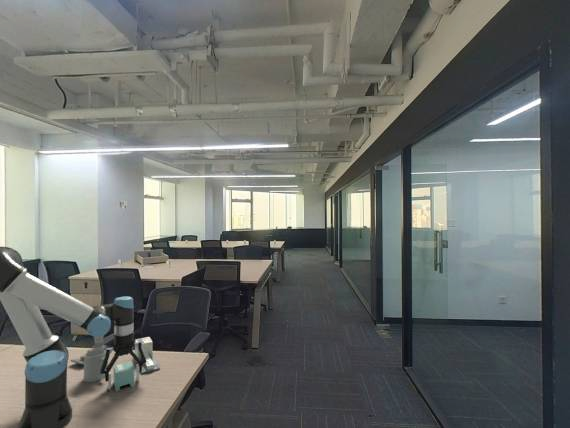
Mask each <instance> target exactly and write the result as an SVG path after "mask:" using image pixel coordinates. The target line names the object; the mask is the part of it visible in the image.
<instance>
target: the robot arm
mask: <svg viewBox="0 0 570 428" xmlns="http://www.w3.org/2000/svg"><path fill="white" fill-rule="evenodd" d="M0 302H1V305H2V307H3V308H4V310H5V311H6V314H7V316H8V317H9V320H10V321H11V323H12V325H13V327H14V329H15V331H16V333H17V335H18V337H19V338H20V340H21V343H22V344H23V346H24V348H25V349H24V350H23V353H22V356H23V358H24V360H25V362H26V363H25V364H26V365H25V368H24V376H25V379H24V380H25V381H24V383H25V385H24V386H25V387H24V388H25V389H24V390H25V392H24V395H25V396H24V398H25V399H24V403H25V406H24V407H25V408H24V409H23V413H22V415H21V417H20V420H19V424H18V428H64V427H65V426H66V425H67V424H68V423H70V421H71V420H72V418H73V407H72V404H71V402H70V400H69V398H68V394H67V389H68V387H67V385H68V383H67V382H68V379H67V378H68V375H67V374H68V363H69V362H68V361H69V356H70V352H69V349H68V347H67V346H66V345H65V344H64V343H62V340H61V338H60V337H59V335H55V334H53V333H52V332H51V329H50V327H49V325H48V323H47V321H46V320H45V318H44V315H43V314H42V312H41V310H40V308H41V309H43V310H45V311H46V312H49V313H50V314H53V315H54V316H57V317H59V318H61V319H64V321H65V320H66V321H67V322H70V323H71V324H73V325H76V326H77V327H80V328H81V329H83V330H85V331H87V333H88V334H89V335H90V336H91V337H93V338H94V337H101V336H103V335H104V336H105V335H106V334H108V333H109V331H110V329H111V325H112V323H113V322H114V324H113V325H114V328H113V332H114V333H113V334H114V335H113V339H114V340H113V346H112V347H107V348H106V355H105V358H104V361H103V364H102V367H101V370H100V372H101V374H105V377H104V378H105V379H104V380H105V382H107V389H108V390H111V389H112V386H111V385H112V384H111V382H112V380H111V379H112V378H111V377H112V373H111V370H112V369H113V368H114V365H115V363H116V361H117V359H119V358H120V357H122V356H124V355H125V356H127V355H129V354H130V356H131V357H132V358H133V359H134V361H135V362H137V363H138V364H137V363H136V370H135V371H136V381H137V382H140V374H141V372H142V364H144V363H146V359H145V356H144V353H143V351H142V348H141V345H142V344H141V342H140V341H138V342H136V343H135V337H134V336H135V335H134V334H135V333H134V324H135V323H134V317H135V315H134V313H135V312H134V311H135V307H134V299H133V297H131V296H127V295H126V296H125V295H124V296H120V297H116V298H114V301H113V303H109V304H100V305H94V306H92V305H88V304H86V303H85V302H83V301H81V300H80V299H77V298H76V297H73V296H72V295H70V294H68V293H66V292H64V291H62V290H60V289H59V288H57V287H55V286H53V285H51V284H49V283H47V282H45V281H44V280H42V279H40V278H38V277H37V276H34V275H32V274H31V273H28V268H26V267H24V263H23V257H22V255H21V254H20V253H19V252H18V251H17V250H16V249H14V248H11V247H8V246H0ZM135 346H136V347H137V348H138V350H139V352H140V355H141V358H142V360H141V361H140V360H139V358H138V357H137V356H136V354H135V351H133V349H135ZM112 352H114V354H113V356H112V359H111V360H110V362H109V358H110V354H112ZM107 362H108V367H107V368H106V365H107ZM105 368H106V369H105Z"/></svg>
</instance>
